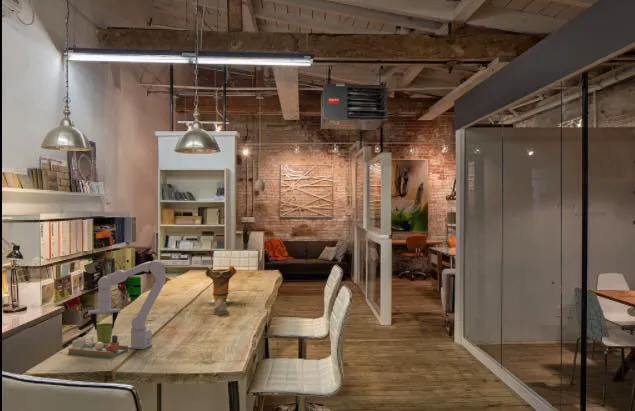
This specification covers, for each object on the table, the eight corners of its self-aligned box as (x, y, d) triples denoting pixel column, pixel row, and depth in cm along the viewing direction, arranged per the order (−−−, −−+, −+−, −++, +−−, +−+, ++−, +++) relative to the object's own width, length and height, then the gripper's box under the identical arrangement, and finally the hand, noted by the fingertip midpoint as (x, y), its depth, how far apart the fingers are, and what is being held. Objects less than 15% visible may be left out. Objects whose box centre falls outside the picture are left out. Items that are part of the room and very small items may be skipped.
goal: (93, 346, 241) (93, 336, 241) (81, 351, 233) (81, 340, 233) (84, 346, 242) (84, 335, 242) (72, 350, 234) (72, 340, 234)
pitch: (127, 350, 239) (127, 345, 239) (111, 357, 227) (111, 352, 227) (86, 347, 244) (86, 342, 244) (68, 353, 233) (68, 348, 233)
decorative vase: (202, 299, 376) (204, 262, 377) (232, 299, 383) (235, 263, 384) (204, 304, 356) (207, 265, 357) (236, 304, 363) (238, 266, 364)
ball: (105, 349, 237) (105, 341, 237) (99, 351, 233) (100, 343, 233) (98, 348, 238) (98, 340, 238) (92, 351, 234) (92, 342, 234)
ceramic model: (230, 314, 325) (230, 299, 325) (213, 315, 321) (213, 300, 321) (226, 310, 338) (226, 295, 338) (209, 311, 334) (210, 296, 334)
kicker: (120, 349, 236) (121, 334, 236) (112, 352, 230) (113, 337, 230) (114, 348, 237) (114, 334, 237) (105, 351, 231) (106, 337, 231)
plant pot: (108, 338, 261) (108, 322, 261) (117, 341, 255) (117, 324, 255) (91, 342, 254) (91, 325, 254) (100, 345, 248) (100, 328, 248)
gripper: (120, 298, 248) (120, 325, 248) (89, 300, 243) (88, 327, 243) (120, 301, 242) (120, 328, 242) (87, 302, 237) (87, 331, 237)
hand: (104, 328), depth 242 cm, fingers open, 7 cm apart
